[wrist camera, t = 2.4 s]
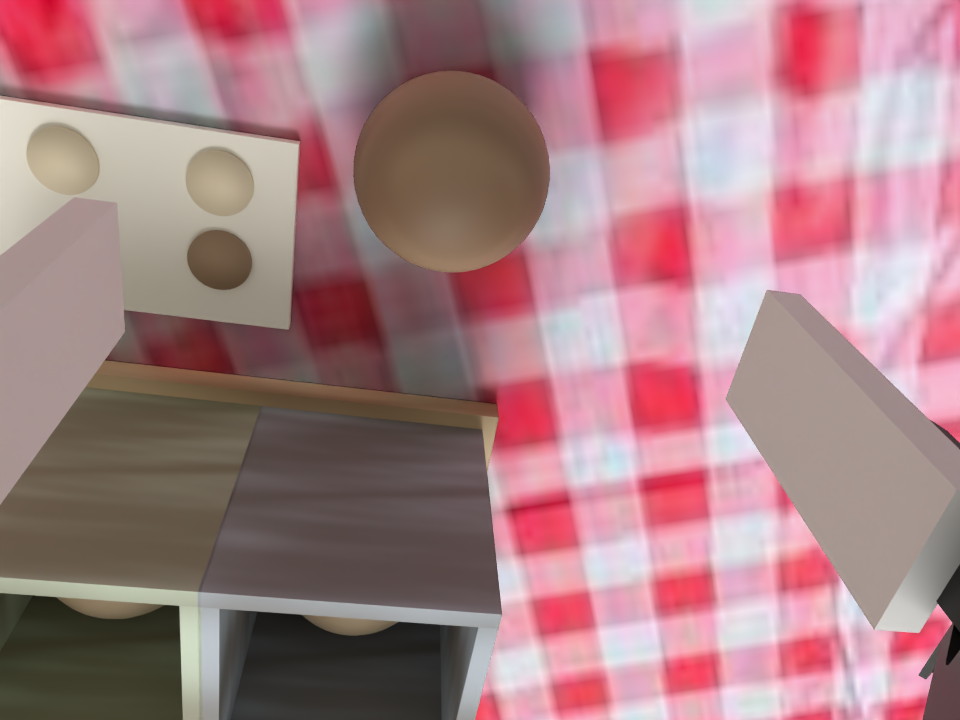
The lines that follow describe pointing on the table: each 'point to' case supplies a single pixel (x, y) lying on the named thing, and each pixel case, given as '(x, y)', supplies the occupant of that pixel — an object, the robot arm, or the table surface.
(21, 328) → the robot arm
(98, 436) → the divided open bin
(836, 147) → the table surface
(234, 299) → the tile
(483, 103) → the walnut ball
